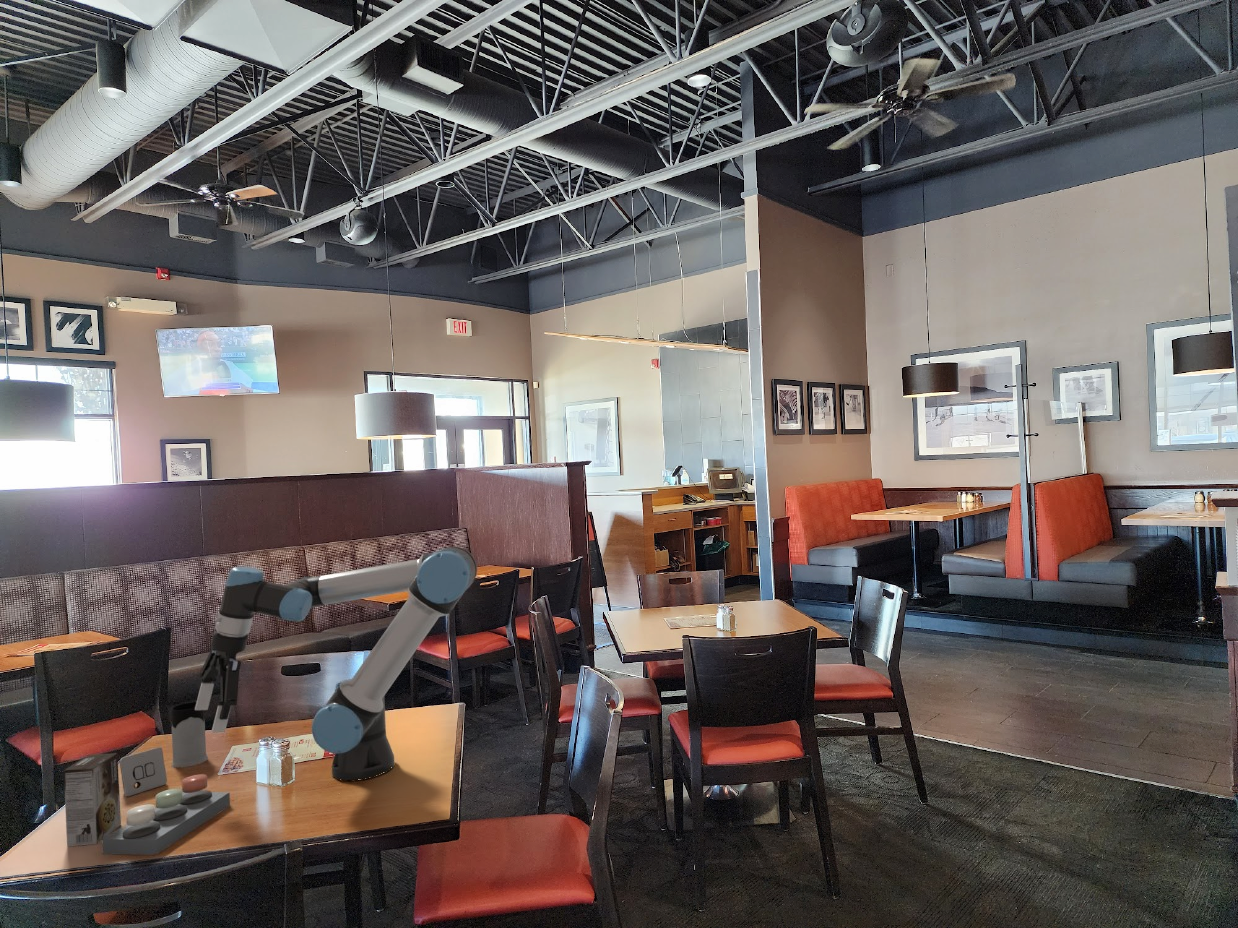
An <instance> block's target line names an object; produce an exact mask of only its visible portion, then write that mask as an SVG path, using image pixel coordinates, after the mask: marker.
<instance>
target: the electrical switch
mask: <svg viewBox="0 0 1238 928" xmlns="http://www.w3.org/2000/svg"><path fill="white" fill-rule="evenodd" d="M163 752H164V751H163V748H162V747H154V748H151V749H148V750H144V751H140V752H137V753H133V754H130V755H127V756H123V757H121V758H120V759H119V767H120V774H121V780H122V782H121V783H122V788H123V793H124V794H123V795H124V796H125V797H127V796H128V797H131V796H133V795H137V794H139V793H143V792H146V791H149V790H153V789H156V788H159V787H163V786H165V785H166V784H167V783H168V777H167V773H166V772H167V771H166V765H165V759H164V758H165V757H164V753H163Z"/></svg>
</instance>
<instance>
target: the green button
mask: <svg viewBox="0 0 1238 928" xmlns="http://www.w3.org/2000/svg"><path fill="white" fill-rule="evenodd" d="M182 801H183V799H182V789H181V788H171V789H167V790H163V791H160V792H158V793H157V794H155V808H159V809H164V808H170V807H173V806H176V805H178V804H180V803H181V802H182Z"/></svg>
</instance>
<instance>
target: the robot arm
mask: <svg viewBox="0 0 1238 928" xmlns="http://www.w3.org/2000/svg"><path fill="white" fill-rule="evenodd" d="M229 570H230V571H229V573H228V577H227V578H226V583H225V584H224V590H223V595H222V599H221V601H220V602H221V603H220V607H219V610H218V616H217V617H215V618H214V622H216V623H215V626H214V629H215V631H213V634H212V637H211V642H210V647H211V648H210V651H209V653H208V655H207V658H206V659H205V662H204V664H203V666H202V668H201V670H200V672H199V677H200V680H201V681H200V682H201V683H200V687H199V691H198V696H197V699H196V701H195V702H196V706H195V710H203V711H208V709H209V706H210V703H211V698H212V694H213V690H214V686H215V682H217V676H218V677H219V678H220V682H219V683H220V701H219V702H218V703H216V706H217V709H216V713H215V716H214V720H213V724H212V728H211V733H212V734H215V733H216V734H217V733H226V729H227V725H228V721H229V718H230V714H231V709H232V706H237V704H238V695H239V681H240V669H241V665H242V661H241V660H237V654H239V653H242V652H244V651H245V650H246V648H247V643H248V640H249V634H250V632H251V628H252V624H253V621H254V616H255V613H257V614H261V615H264V616H269V617H274V618H278V619H282V620H285V621H288V622H289V621H292V622H302V621H304V620H305V619H306V617H307V616H308V614H309V613H310V610H311V609H312V608H316V607H322V606H326V605H333V604H338V603H344V602H350V601H356V600H361V599H362V600H363V599H368V598H375V597H380V596H381V597H382V596H386V595H391V594H398V593H403V592H408V598H407V599H406V601H405V603H404V604H403V605H402V607H401V608H400V610H399V611H398V613H397V614H396V615H395V616H394V618H393V619H392V621H391V622H390V623H389V626H388V627H387V628H386V630H385V631H384V633H383V634H382V635H381V637H380V638H379V639H378V641H377V643H376V644H375V646H373V648H372V650H371V651H370V653H369V654H368V655H367V657H366V658H365V659H364V661H363V662H362V664H361V665H360V667H359V668H358V669H357V671H356V673H354V675H353V676H352V678H347V679H342V680H340V681H337V682H336V684H335V689H334V693H333V694H332V695H331V697H330V698H329V700H328V701H327V702H326V704H325V705H324V706H322V707H321V708H320V709H319V710H317V712H316V713H315V716H314V718H313V720H312V723H311V734H312V737H313V740H314V741H315V743H316V745H317V746H319V747H320V748H321V749H322V750H324V751H325V752H328V753H331V754H334V756H333V760H332V764H331V776H332V775H333V776H332V777H333V778H334V777H335V778H336V780H338V779H341V780H340V781H343V780H357V781H359V780H358V779H364V780H366V779H365V778H369V777H373V778H375V777H374V776H376V775H379V774H381V773H383V772H386V771H388V770H389V769H391V767H393V766H394V767H395V765H394V763H395V754H394V752H393V749H392V747H391V744H390V742H389V739H388V736H387V731H386V729H387V728H386V707H385V695H386V694H387V692H388V691H389V689H390V688H391V687H392V685H393V684H394V682H395V681H396V680H397V678H398V677H399V675H400V674H401V673H402V672H403V670H404V668H405V667H406V665H407V664H408V662H409V661H410V660H411V658H412V657H413V655H414V654H415V652H416V651H417V650H418V648H419V647H420V646H421V644H422V643H423V641H424V639H426V637H427V635H428V634H429V632H431V630H432V628H433V627H434V625H435V624H436V622H437V621H438V620H439V618H440V617H444V616H445V617H446V616H449V615H450V613H451V612H452V611H453V609H454V608H455V606H456V605H457V603H458V602H459V600H460V599H462V596H463V595H464V594H465V592H466V591H467V590H468V589H469V588H470V587H471V586H472V585H473V583H474V582H475V580H476V577H477V575H478V564H477V562H476V559H475V557H474V556H473V554H472V553H471V552H470V551H469V550H467V549H465V548H463V547H461V546H448V547H445V548H443V549H441V550H438V551H434V552H430V553H424V554H421V556H420V557H419V559H411V560H407V561H406V560H405V561H401V562H394V563H388V564H383V565H377V566H376V565H375V566H370V567H364V568H358V569H354V570H352V569H351V570H347V571H341V572H335V573H329V574H325V575H324V574H323V575H319V576H318V575H317V576H306V577H301V578H298V579H297V580H295V581H292V582H289V583H286V584H281V583H280V584H278V583H275V582H269V581H267V580H264V579H265V578H264V575H265V574H264V571H262V570H260V569H257V568H255V567H250V566H234V567H232V568H231V569H229ZM394 767H393V768H394ZM391 770H392V769H391ZM388 772H389V771H388ZM386 773H387V772H386ZM335 778H334V779H335ZM369 779H370V778H369Z"/></svg>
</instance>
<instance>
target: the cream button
mask: <svg viewBox="0 0 1238 928" xmlns="http://www.w3.org/2000/svg"><path fill="white" fill-rule="evenodd" d="M155 808H156V805H154V804H153V803H152V804H150V803H149V804H141V805H137V806H135V807H132V808H130V809H128V810H127V811H126V825H129V826H137V825H142V824H145V823H148V822H150V821H152V820H153V819H154V818H155Z"/></svg>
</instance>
